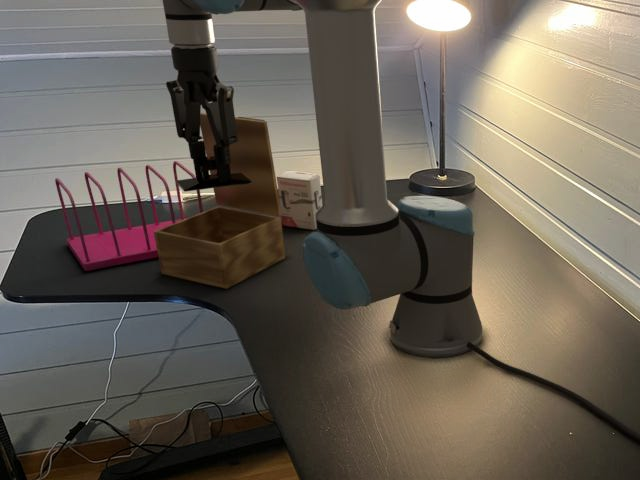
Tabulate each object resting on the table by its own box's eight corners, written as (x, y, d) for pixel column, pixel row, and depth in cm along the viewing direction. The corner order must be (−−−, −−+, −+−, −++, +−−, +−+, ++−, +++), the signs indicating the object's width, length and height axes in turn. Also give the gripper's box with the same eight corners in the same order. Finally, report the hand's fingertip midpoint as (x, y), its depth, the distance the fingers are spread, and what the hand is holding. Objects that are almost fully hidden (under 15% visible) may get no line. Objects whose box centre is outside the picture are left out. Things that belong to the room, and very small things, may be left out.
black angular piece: (241, 174, 144) (238, 151, 141) (252, 184, 138) (249, 159, 136) (175, 182, 138) (171, 157, 135) (184, 192, 132) (180, 166, 130)
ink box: (281, 226, 168) (275, 175, 162) (292, 219, 172) (286, 169, 166) (315, 231, 166) (310, 179, 160) (325, 224, 170) (321, 173, 164)
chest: (226, 288, 137) (219, 245, 132) (161, 273, 142) (153, 231, 138) (285, 258, 151) (280, 217, 147) (224, 245, 157) (218, 205, 152)
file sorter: (213, 247, 155) (201, 174, 147) (85, 272, 142) (64, 193, 134) (187, 225, 167) (175, 156, 159) (67, 246, 154) (47, 172, 146)
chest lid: (264, 122, 136) (285, 114, 141) (197, 113, 142) (220, 105, 147) (279, 216, 146) (299, 205, 151) (216, 204, 152) (237, 194, 157)
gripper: (248, 47, 126) (264, 180, 138) (170, 40, 132) (191, 168, 144) (218, 51, 120) (237, 190, 132) (138, 43, 126) (163, 177, 138)
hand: (213, 178), depth 138 cm, fingers closed on black angular piece, 5 cm apart
